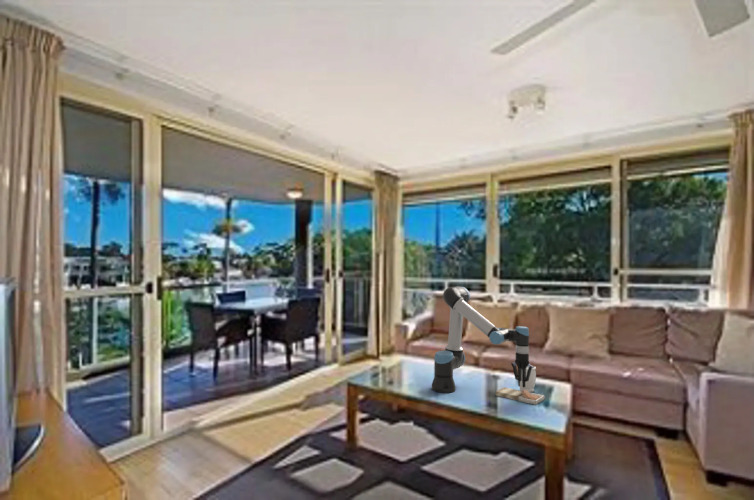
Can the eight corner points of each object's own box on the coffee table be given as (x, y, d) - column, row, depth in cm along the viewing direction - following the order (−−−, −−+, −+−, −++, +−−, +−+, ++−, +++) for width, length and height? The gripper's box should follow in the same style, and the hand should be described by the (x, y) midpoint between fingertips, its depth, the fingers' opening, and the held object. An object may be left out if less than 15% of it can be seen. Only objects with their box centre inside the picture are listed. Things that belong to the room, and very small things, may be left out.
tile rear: (521, 393, 261) (523, 391, 261) (524, 391, 265) (526, 389, 264) (527, 399, 259) (529, 397, 258) (530, 397, 263) (532, 395, 262)
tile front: (536, 398, 256) (536, 401, 256) (539, 396, 259) (539, 399, 259) (529, 396, 258) (529, 399, 258) (532, 395, 262) (532, 398, 262)
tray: (518, 401, 258) (518, 397, 258) (527, 395, 268) (527, 392, 269) (535, 404, 251) (535, 401, 251) (544, 399, 262) (544, 395, 262)
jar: (514, 388, 283) (515, 365, 283) (527, 387, 287) (527, 364, 287) (526, 393, 273) (526, 369, 273) (539, 391, 277) (539, 367, 277)
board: (495, 395, 268) (495, 391, 268) (504, 391, 277) (504, 387, 277) (517, 400, 259) (517, 396, 259) (525, 395, 268) (525, 391, 268)
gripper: (509, 352, 266) (508, 391, 265) (530, 355, 257) (530, 396, 257) (514, 350, 271) (513, 388, 271) (535, 353, 263) (535, 393, 262)
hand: (521, 392), depth 264 cm, fingers closed
